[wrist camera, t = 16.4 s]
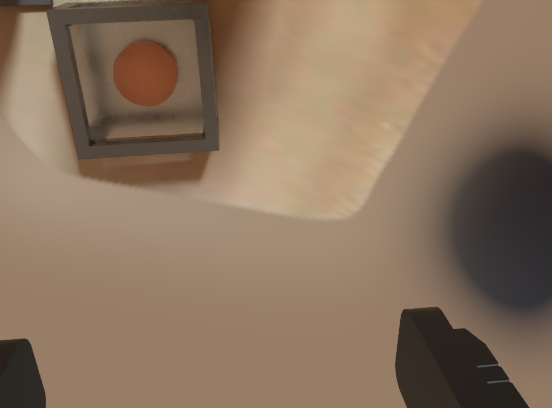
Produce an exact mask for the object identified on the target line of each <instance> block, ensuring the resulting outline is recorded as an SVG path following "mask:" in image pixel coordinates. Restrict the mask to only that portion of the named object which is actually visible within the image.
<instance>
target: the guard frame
mask: <svg viewBox="0 0 552 408" xmlns="http://www.w3.org/2000/svg"><path fill="white" fill-rule="evenodd" d="M46 12H47V17H48V21H49V26H50V30H51V35H52V40H53V44H54V49H55V53H56V58H57V62H58V67H59V72H60V76H61V81H62V85H63V90H64V94H65V99H66V103H67V108H68V113H69V117H70V122H71V126H72V131H73V135H74V140H75V145H76V149H77V154H78V158H79V159H91V158H107V157H123V156H138V155H154V154H170V153H186V152H202V151H218V150H219V124H218V112H217V100H216V88H215V75H214V63H213V51H212V39H211V27H210V15H209V3H208V0H133V1H108V2H82V3H65V4H62V5H59V6H57V7H54V8H51V9H48V10H46ZM69 29H70V31H69ZM70 34H71V36H70ZM71 38H72V41H71ZM138 41H150V42H154V43H157V44H159V45H161V46H162V47H164V48H165V49H166V50H167V51H168V52H169V53H170V54H171V55H172V57H173V58H174V60H175V63H176V66H177V70H178V78H177V83H176V86H175V89H174V91H173V93H172V94H171V96H170V97H169V98H168V99H167V100H166V101H164V102H163V103H161V104H158V105H155V106H140V105H136V104H134V103H132V102H130V101H128V100H127V99H126V98H125V97H123V96H122V94H121V93H120V92H119V91H118V89H117V87H116V85H115V82H114V79H113V66H114V62H115V60H116V58H117V56H118V55H119V54H120V53H121V52H122V51H123V49H124V48H126V47H127V46H128V45H130V44H132V43H134V42H138ZM72 43H73V46H72ZM73 48H74V50H73ZM74 53H75V55H74ZM75 58H76V60H75ZM76 63H77V65H76ZM77 68H78V70H77ZM78 73H79V75H78ZM79 78H80V80H79ZM80 83H81V85H80ZM81 88H82V90H81ZM82 93H83V95H82ZM83 98H84V100H83ZM84 103H85V105H84ZM85 108H86V110H85ZM86 113H87V115H86ZM87 117H88V119H87ZM88 122H89V124H88ZM191 133H203V135H202V136H185V137H169V138H152V139H136V140H119V141H105V140H106V139H108V138H125V137H141V136H158V135H175V134H191Z"/></svg>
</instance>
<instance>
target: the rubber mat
mask: <svg viewBox="0 0 552 408" xmlns="http://www.w3.org/2000/svg"><path fill="white" fill-rule="evenodd" d="M47 4H53V0H0V6H21V5H47Z"/></svg>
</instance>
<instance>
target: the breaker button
mask: <svg viewBox="0 0 552 408" xmlns="http://www.w3.org/2000/svg"><path fill="white" fill-rule="evenodd" d="M177 78H178V70H177V66H176V63H175V60H174V58H173V57H172V55H171V54H170V53H169V52H168V51H167V50H166V49H165V48H164V47H162V46H161V45H159V44H157V43H154V42H150V41H138V42H134V43H132V44H130V45H128V46H127V47H126V48H124V49H123V51H122V52H121V53H120V54H119V55H118V56H117V58H116V60H115V62H114V66H113V79H114V82H115V85H116V87H117V89H118V91H119V92H120V93H121V94H122V96H123V97H125V98H126V99H127V100H128V101H130V102H132V103H134V104H136V105H140V106H155V105H158V104H161V103H163V102H164V101H166V100H167V99H168V98H169V97H170V96H171V94H172V93H173V91H174V89H175V86H176V83H177Z"/></svg>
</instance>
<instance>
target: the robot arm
mask: <svg viewBox="0 0 552 408" xmlns="http://www.w3.org/2000/svg"><path fill="white" fill-rule="evenodd" d="M395 368H396V377H397V382H398V386H399V389H400V392H401V394H402V396H403V399H404V401H405V404H406V406H407V408H529V407H528V405H527V404H526V402H525V401H524V399H523V398H522V397H521V395H520V394H519V392H518V391H517V389H516V388H515V387H514V385H513V384H512V383H510V382H509V378H508V376H507V375H506V373H505V372H504V370H503V369H502V368H501V367H499V366H498V362H497V360H496V359H495V357H494V356H493V355H492V353H491V352H490V350H489V349H488V347H487V346H486V344H485V343H483V342H482V341H481V340H479V339H478V338H477V337H475V336H474V335H473V334H472V333H470V332H469V331H468V330H466V329H464V328H462V329H453V328H452V326H451V325H450V323H449V322H448V320H447V318H446V317H445V315H444V314H443V312H442V311H441V309H440V308H438V307H429V308H415V309H404V310H403V312H402V314H401V319H400V327H399V335H398V344H397V352H396V362H395ZM0 408H46V396H45V391H44V387H43V384H42V380H41V377H40V374H39V370H38V367H37V364H36V360H35V357H34V354H33V350H32V347H31V344H30V342H29V341H28V340H27V339H13V340H0Z"/></svg>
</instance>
